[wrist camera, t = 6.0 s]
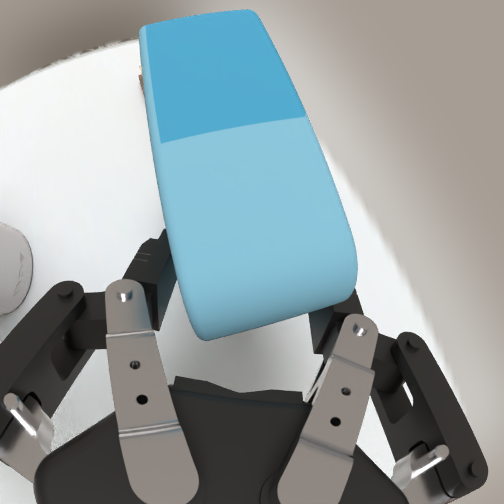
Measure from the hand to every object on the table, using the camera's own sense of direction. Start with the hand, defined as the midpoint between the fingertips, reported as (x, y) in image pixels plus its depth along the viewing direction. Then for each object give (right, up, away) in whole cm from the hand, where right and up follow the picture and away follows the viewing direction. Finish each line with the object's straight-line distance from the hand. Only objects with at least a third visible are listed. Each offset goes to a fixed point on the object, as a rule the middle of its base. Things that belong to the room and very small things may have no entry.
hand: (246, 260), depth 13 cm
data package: (-2, +2, +7) cm, 7 cm away
